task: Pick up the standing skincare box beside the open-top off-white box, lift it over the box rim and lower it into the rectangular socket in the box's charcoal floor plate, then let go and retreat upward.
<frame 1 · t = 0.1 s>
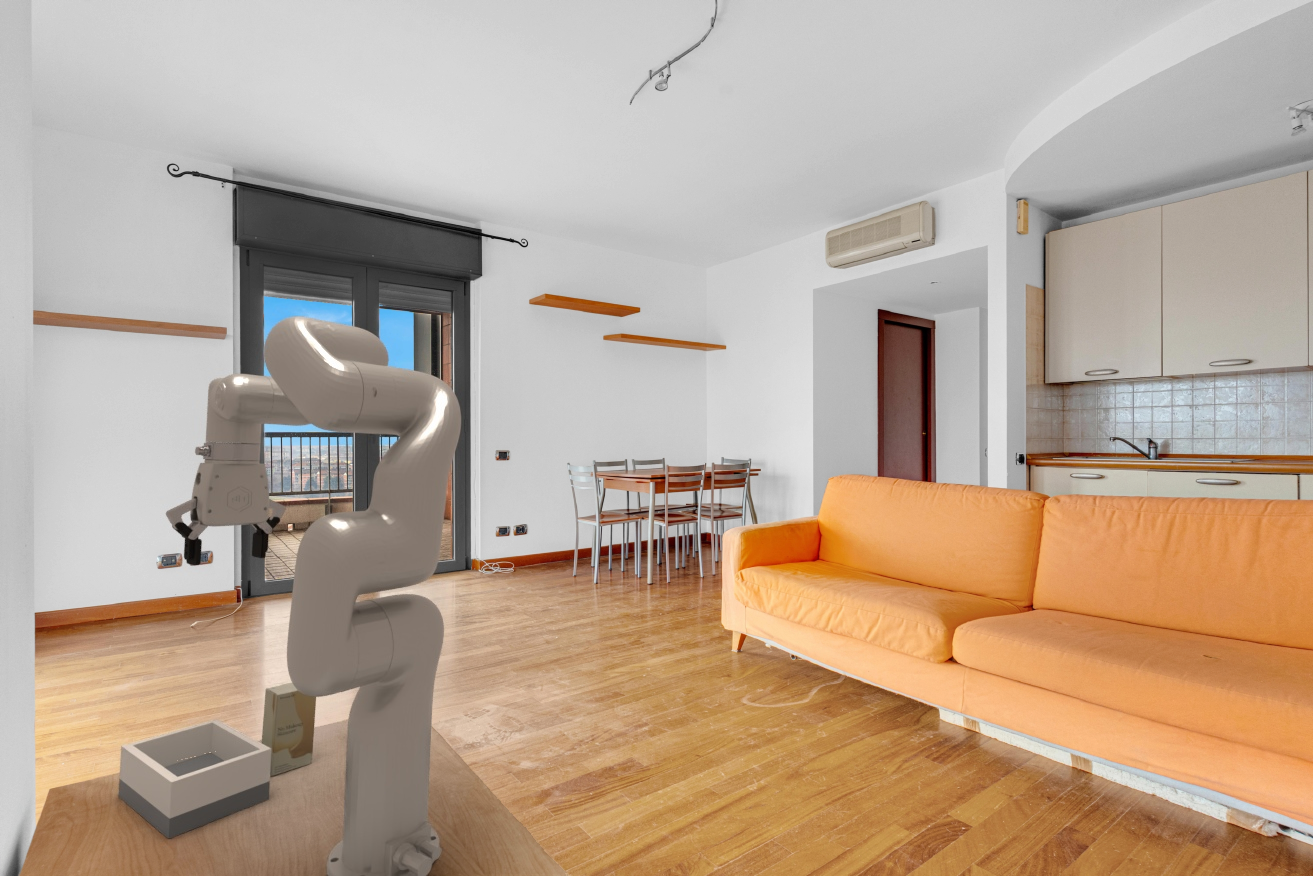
hand: (227, 560, 105), 31 cm above the table, tool pointing down, fingers open, 9 cm apart
skincare box: (287, 767, 101), on the table
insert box: (193, 797, 91), on the table
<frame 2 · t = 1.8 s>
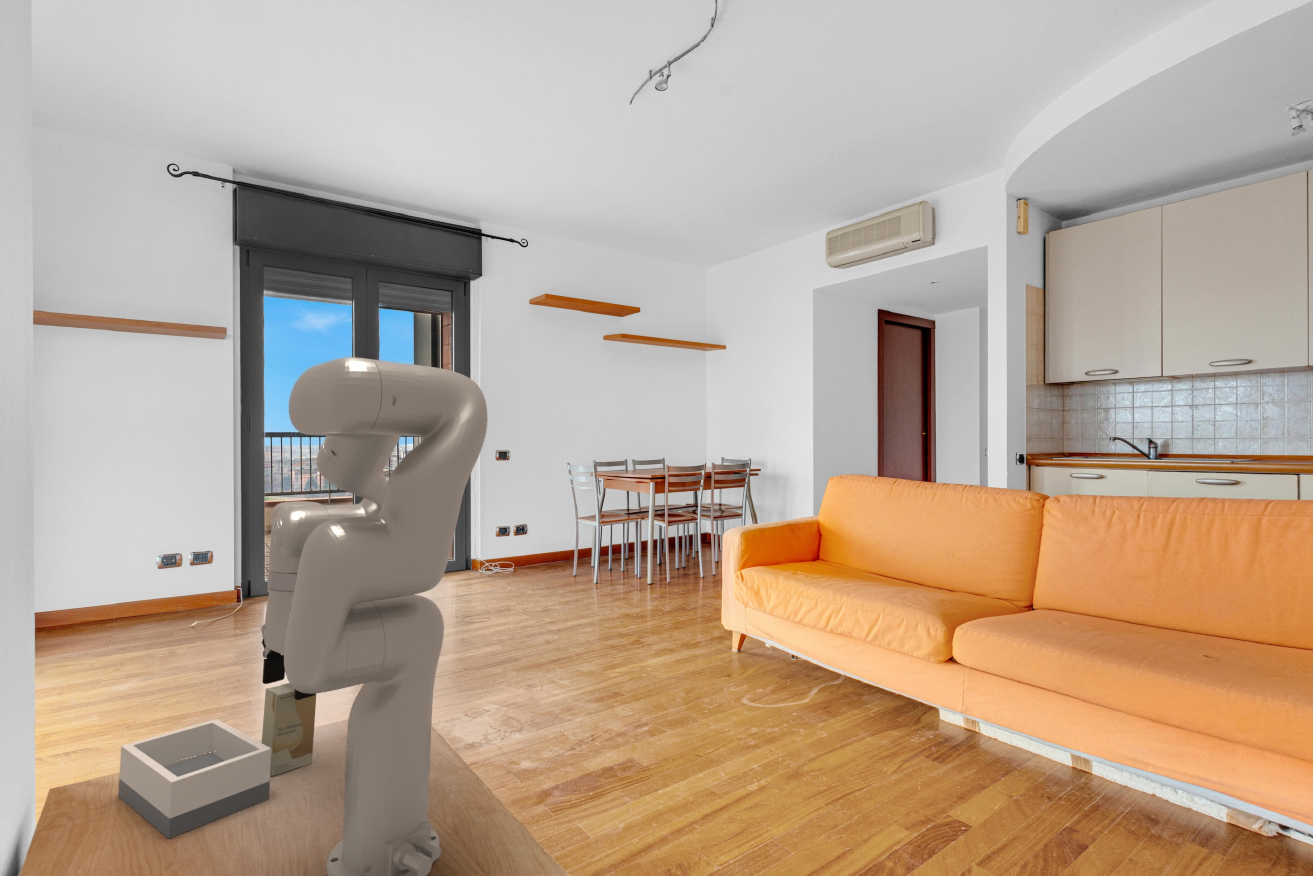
hand: (289, 689, 102), 12 cm above the table, tool pointing down, fingers open, 9 cm apart
nothing on the table moved.
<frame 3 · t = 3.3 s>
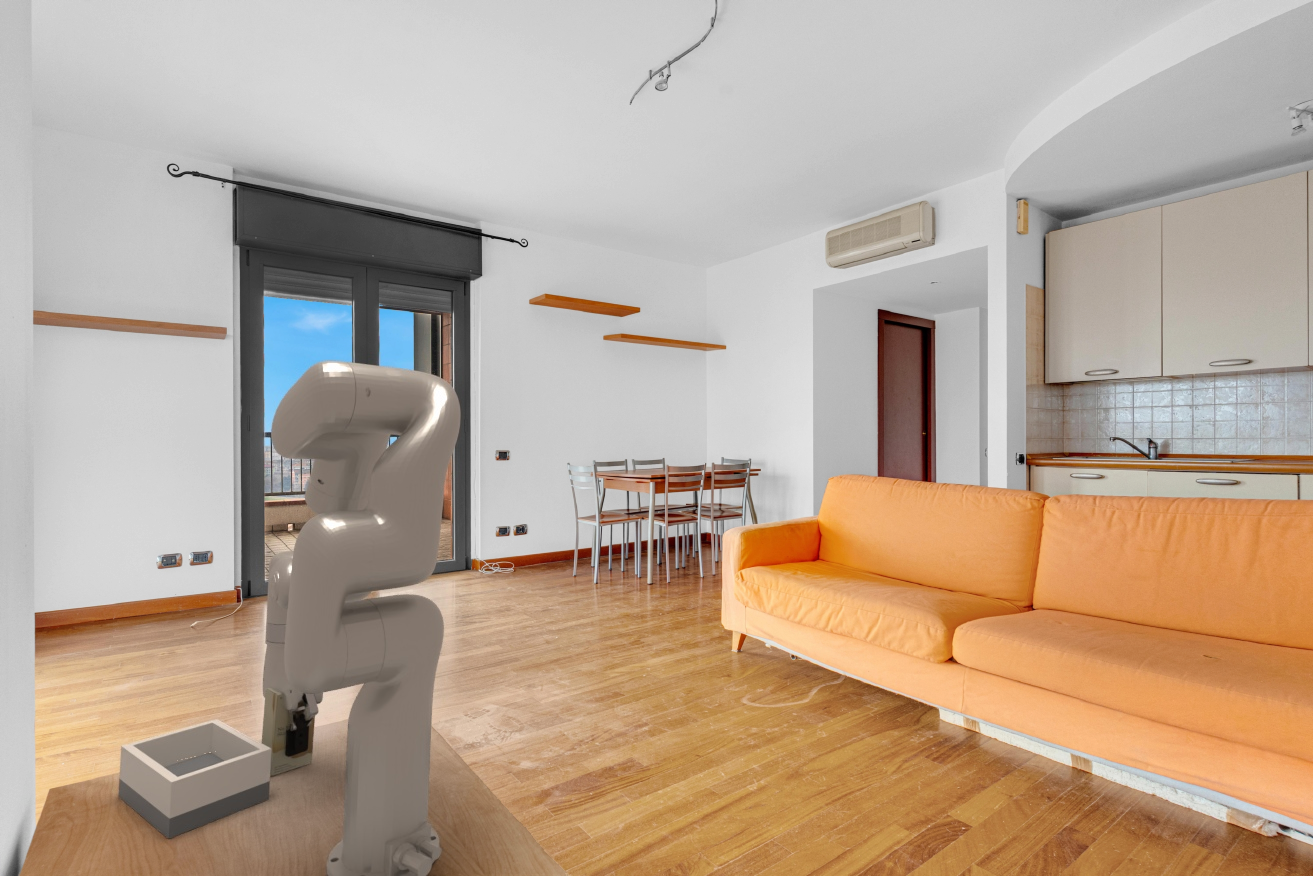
hand: (287, 747, 101), 3 cm above the table, tool pointing down, fingers closed on skincare box, 4 cm apart
skincare box: (286, 767, 101), on the table, touching gripper
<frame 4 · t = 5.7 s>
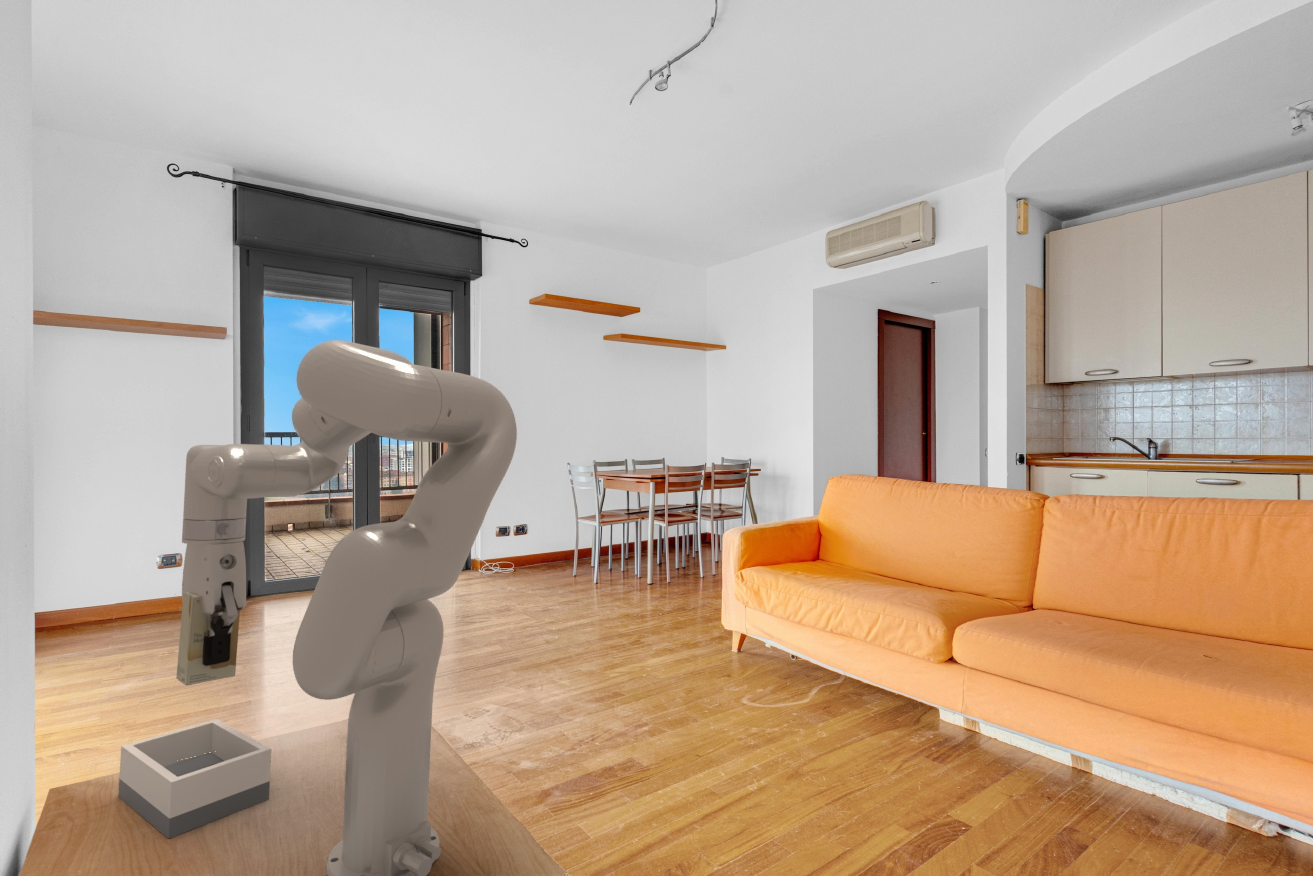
hand: (208, 658, 92), 19 cm above the table, tool pointing down, fingers closed on skincare box, 4 cm apart
skincare box: (207, 679, 92), point 16 cm above the table, touching gripper
when the fingers open (4 cm above the table, at t = 8.4 s): skincare box stays where it is, resting in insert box.
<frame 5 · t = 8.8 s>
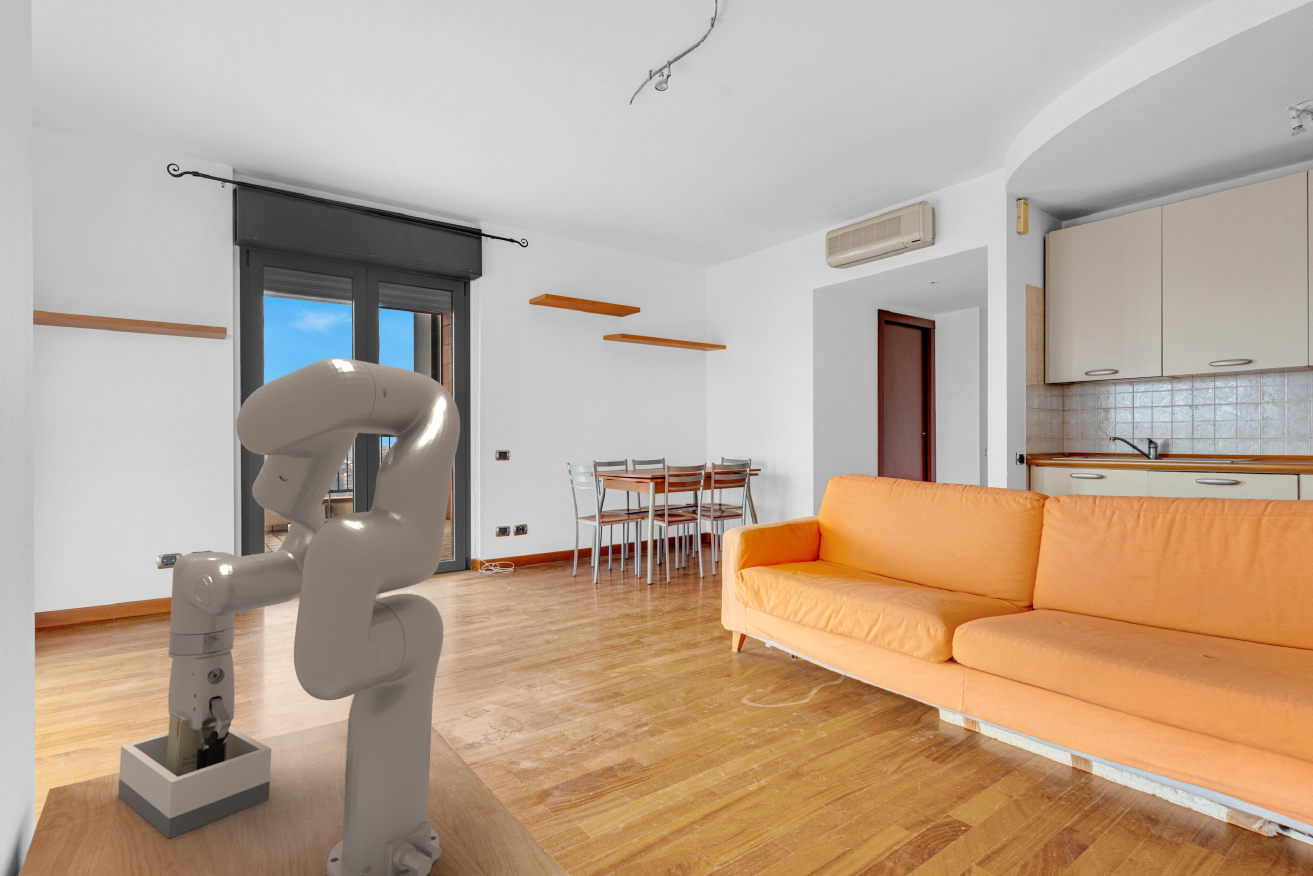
hand: (195, 765, 91), 4 cm above the table, tool pointing down, fingers open, 8 cm apart
skincare box: (194, 799, 91), resting in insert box
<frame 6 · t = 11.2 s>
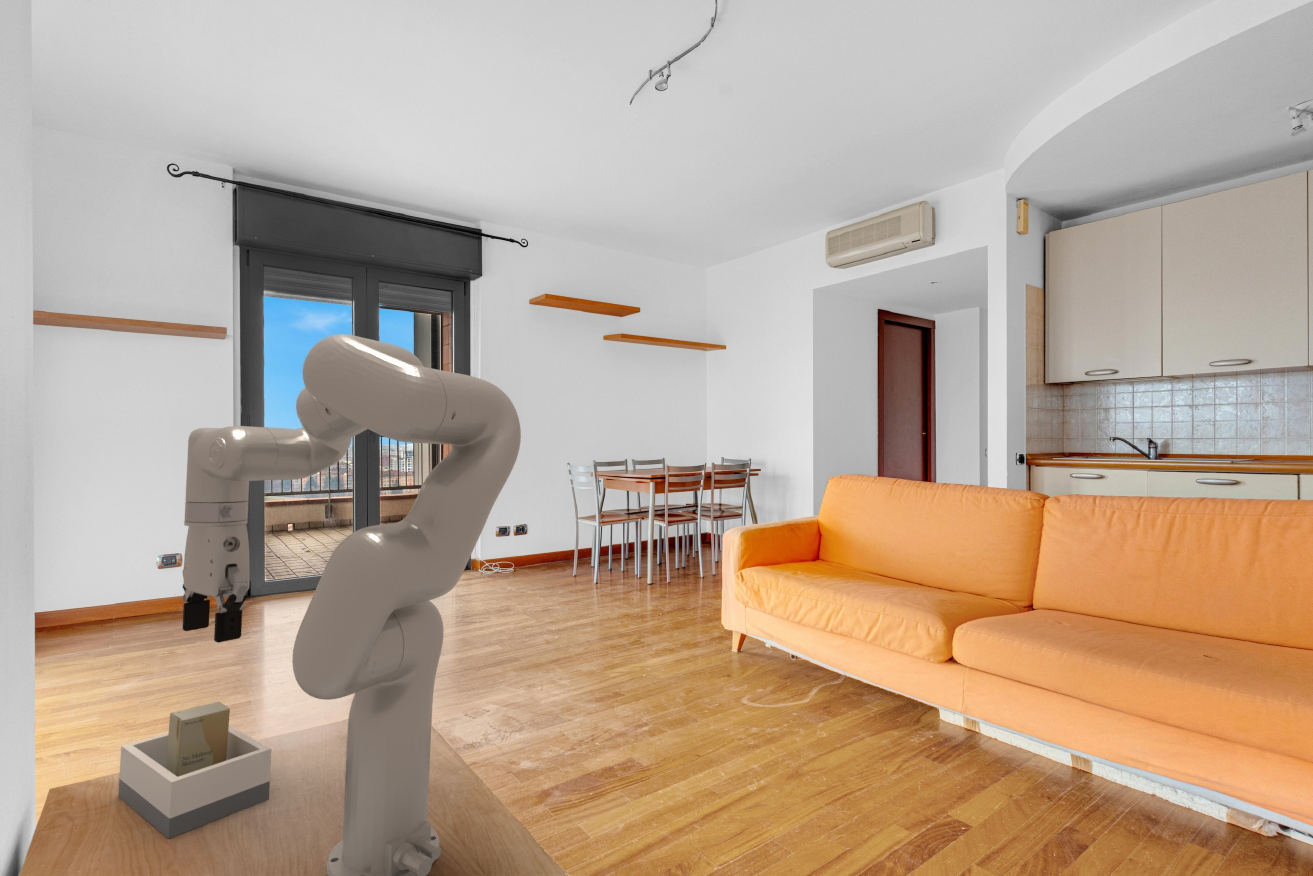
hand: (211, 634, 93), 23 cm above the table, tool pointing down, fingers open, 9 cm apart
nothing on the table moved.
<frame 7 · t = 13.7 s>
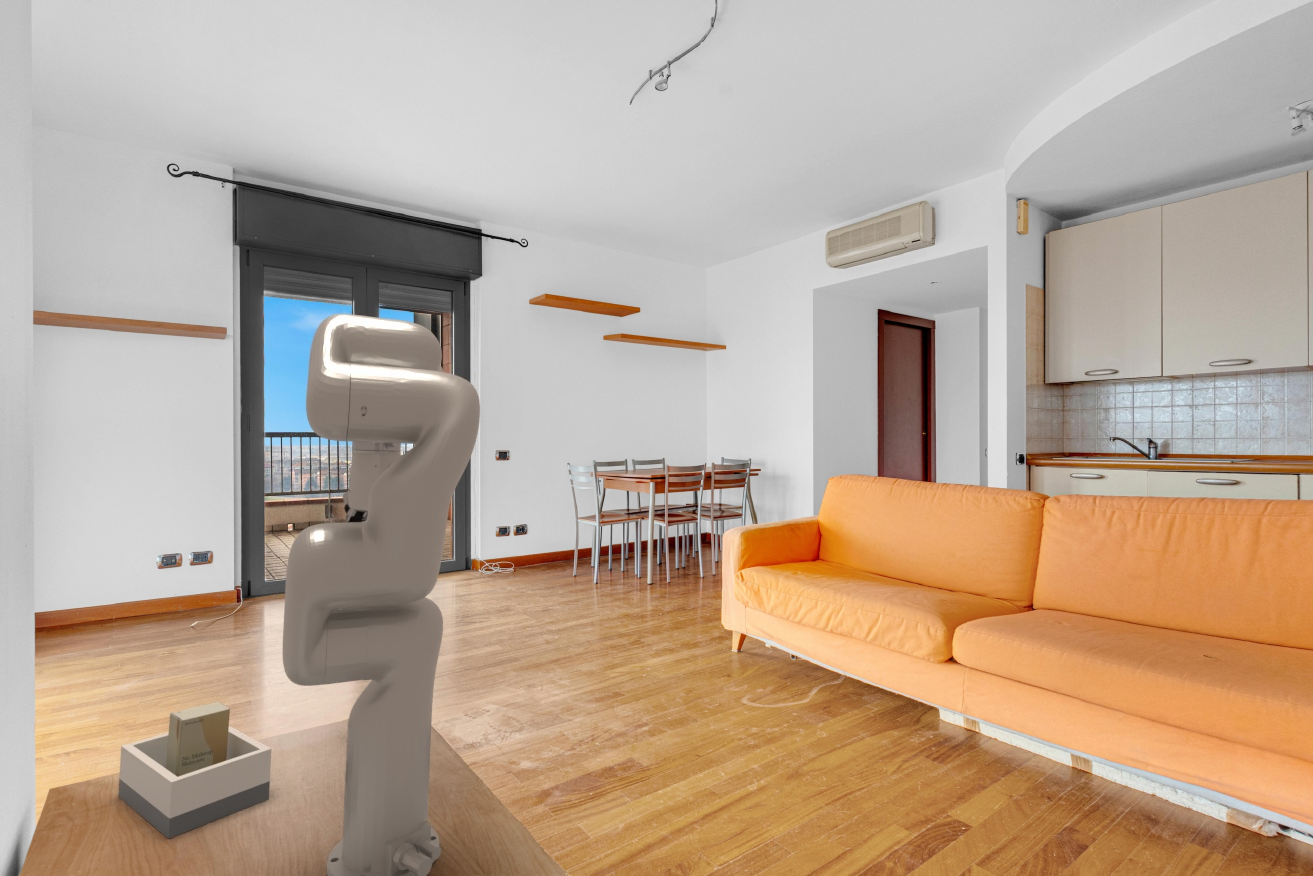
hand: (372, 546, 110), 33 cm above the table, tool pointing down, fingers open, 9 cm apart
nothing on the table moved.
at the end: skincare box 0.2 cm off-centre on the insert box, point 0.0 cm above the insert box's base; skincare box tilted 0°; the gripper is holding nothing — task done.
